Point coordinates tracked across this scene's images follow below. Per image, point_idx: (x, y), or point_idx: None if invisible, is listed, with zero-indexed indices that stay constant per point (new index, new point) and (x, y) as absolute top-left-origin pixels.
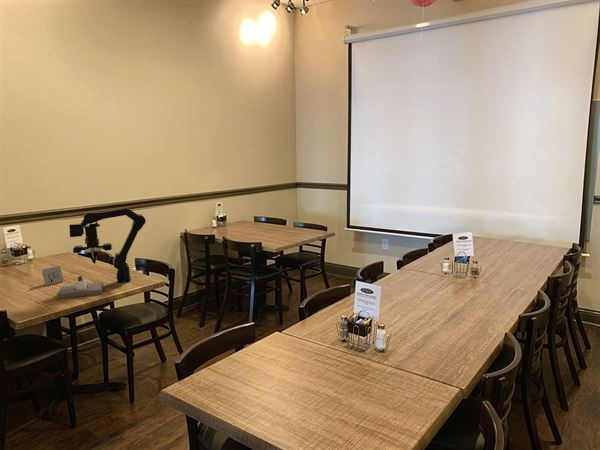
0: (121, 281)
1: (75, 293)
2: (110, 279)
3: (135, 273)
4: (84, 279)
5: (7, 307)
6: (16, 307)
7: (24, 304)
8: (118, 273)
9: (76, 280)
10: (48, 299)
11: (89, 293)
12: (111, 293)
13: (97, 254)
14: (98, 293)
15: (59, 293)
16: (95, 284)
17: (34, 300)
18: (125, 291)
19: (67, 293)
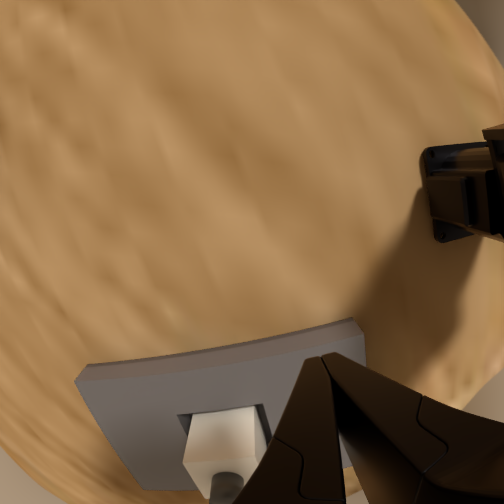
0: (458, 234)
1: None
2: (351, 122)
3: (467, 29)
4: (252, 467)
5: (32, 476)
6: (59, 488)
7: (59, 476)
8: (482, 229)
9: (194, 475)
10: (108, 463)
11: None
12: None
13: (480, 436)
14: None
15: (148, 485)
16: None
17: (58, 453)
18: (470, 396)
19: (190, 488)
